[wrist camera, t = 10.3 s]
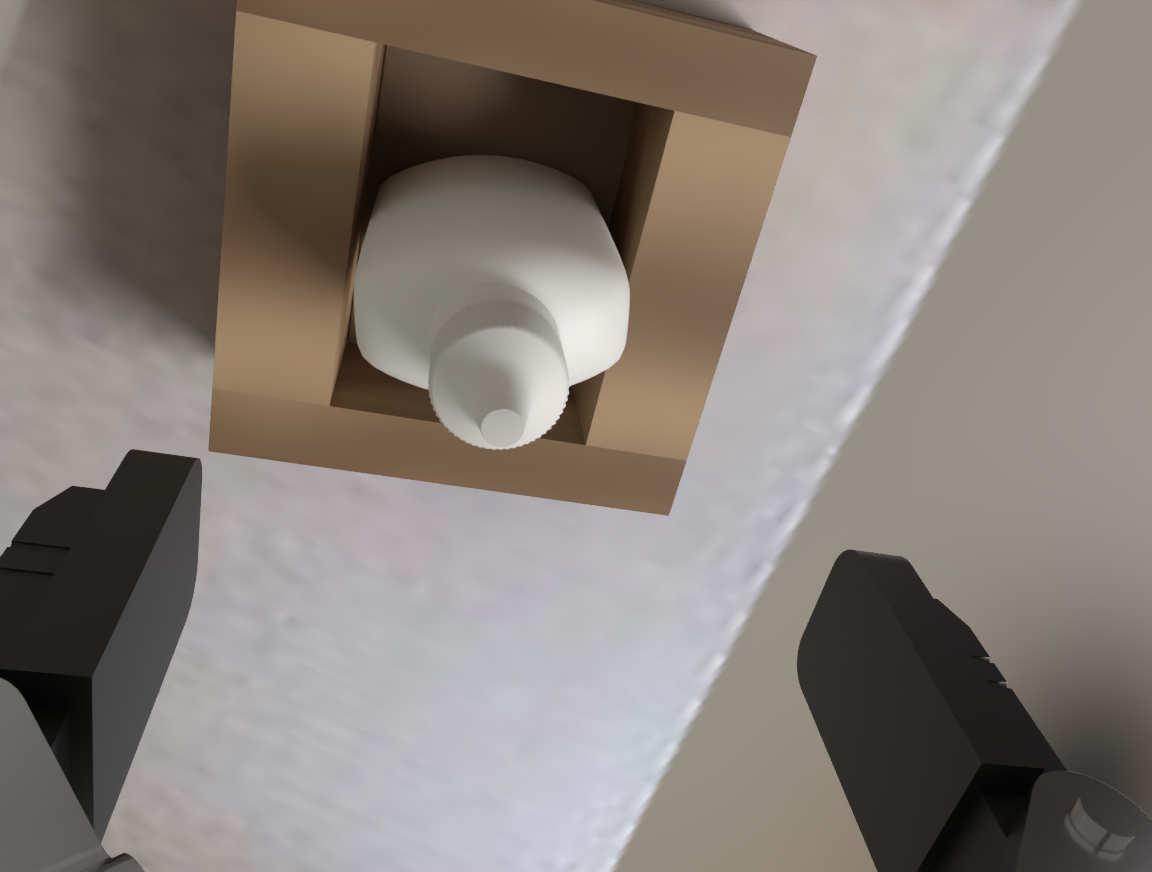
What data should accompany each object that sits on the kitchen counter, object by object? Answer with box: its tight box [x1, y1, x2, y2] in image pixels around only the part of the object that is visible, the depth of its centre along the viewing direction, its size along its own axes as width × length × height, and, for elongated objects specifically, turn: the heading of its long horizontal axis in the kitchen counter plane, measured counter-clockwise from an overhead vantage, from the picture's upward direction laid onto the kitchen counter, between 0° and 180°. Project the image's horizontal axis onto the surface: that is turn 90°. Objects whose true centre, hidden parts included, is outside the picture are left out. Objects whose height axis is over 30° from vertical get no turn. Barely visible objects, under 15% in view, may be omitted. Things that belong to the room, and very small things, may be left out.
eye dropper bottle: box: [354, 155, 630, 450], centre depth 20 cm, size 4×6×12 cm
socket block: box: [209, 0, 817, 516], centre depth 24 cm, size 12×12×5 cm
